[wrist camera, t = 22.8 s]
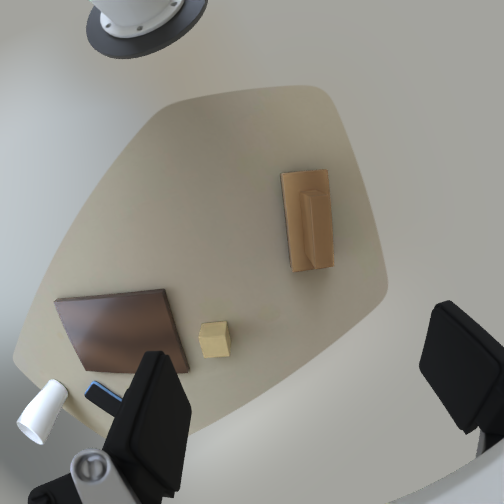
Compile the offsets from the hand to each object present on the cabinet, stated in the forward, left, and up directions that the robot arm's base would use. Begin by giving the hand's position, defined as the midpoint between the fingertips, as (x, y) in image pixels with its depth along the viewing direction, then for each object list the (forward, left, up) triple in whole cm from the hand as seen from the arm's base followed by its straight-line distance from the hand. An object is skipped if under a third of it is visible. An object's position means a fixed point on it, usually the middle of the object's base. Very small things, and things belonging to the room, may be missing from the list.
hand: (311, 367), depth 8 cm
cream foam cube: (+15, -8, -25) cm, 31 cm away
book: (+14, -24, -25) cm, 38 cm away
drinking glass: (+28, -47, -26) cm, 61 cm away
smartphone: (+32, -32, -25) cm, 52 cm away
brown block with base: (0, +5, -25) cm, 26 cm away
